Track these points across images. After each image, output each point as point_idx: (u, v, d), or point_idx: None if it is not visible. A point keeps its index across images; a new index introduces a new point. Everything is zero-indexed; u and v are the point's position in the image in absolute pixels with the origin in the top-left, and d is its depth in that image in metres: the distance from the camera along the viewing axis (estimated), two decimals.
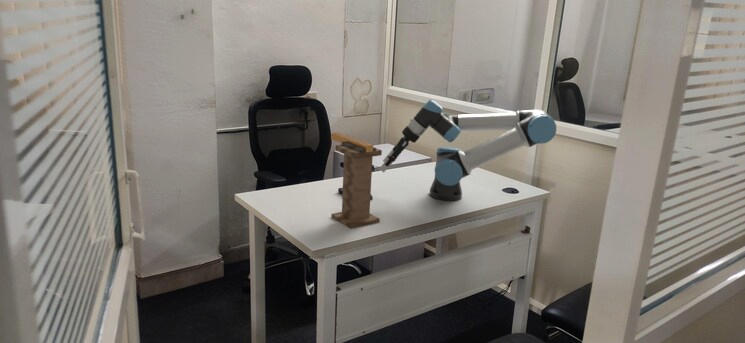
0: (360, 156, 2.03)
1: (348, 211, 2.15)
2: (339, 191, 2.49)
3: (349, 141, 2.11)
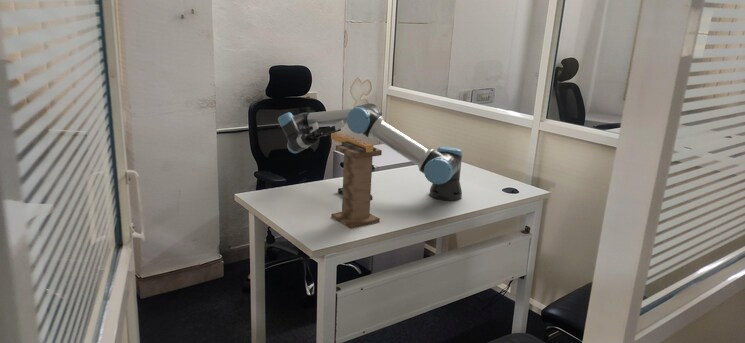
0: (360, 156, 2.03)
1: (348, 211, 2.15)
2: (339, 191, 2.49)
3: (349, 141, 2.11)
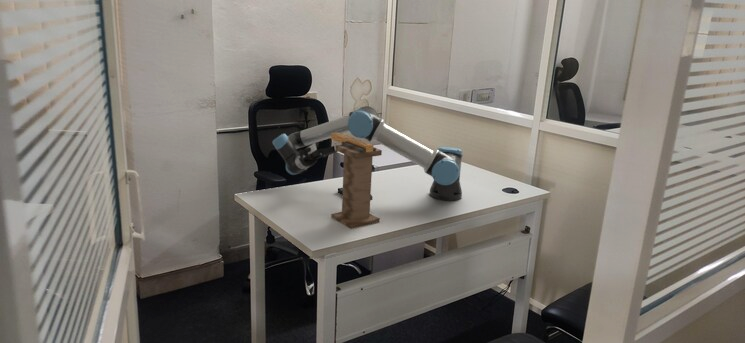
0: (360, 156, 2.03)
1: (348, 211, 2.15)
2: (338, 191, 2.49)
3: (349, 141, 2.11)
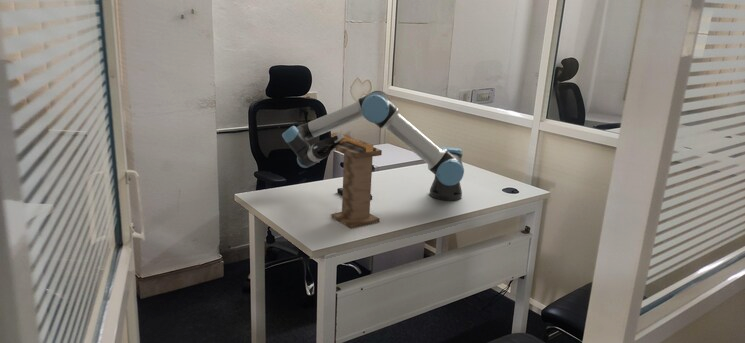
0: (360, 156, 2.03)
1: (348, 211, 2.15)
2: (338, 191, 2.49)
3: (349, 141, 2.11)
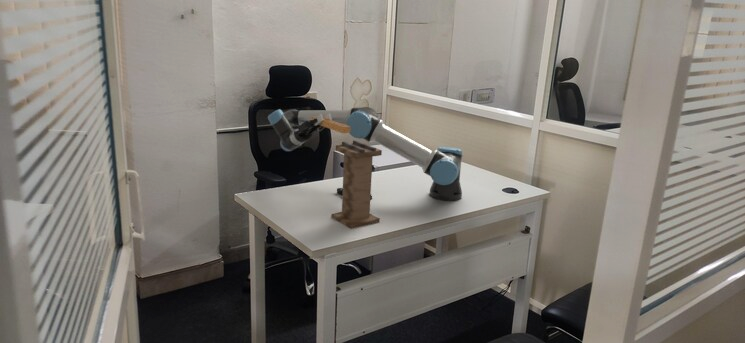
0: (360, 156, 2.03)
1: (348, 211, 2.15)
2: (338, 191, 2.48)
3: (328, 123, 2.21)
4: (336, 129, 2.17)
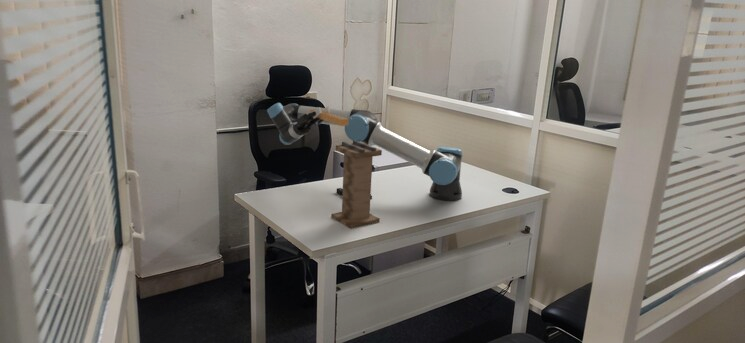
0: (360, 156, 2.03)
1: (348, 211, 2.15)
2: (337, 191, 2.48)
3: (326, 116, 2.22)
4: (334, 122, 2.18)
